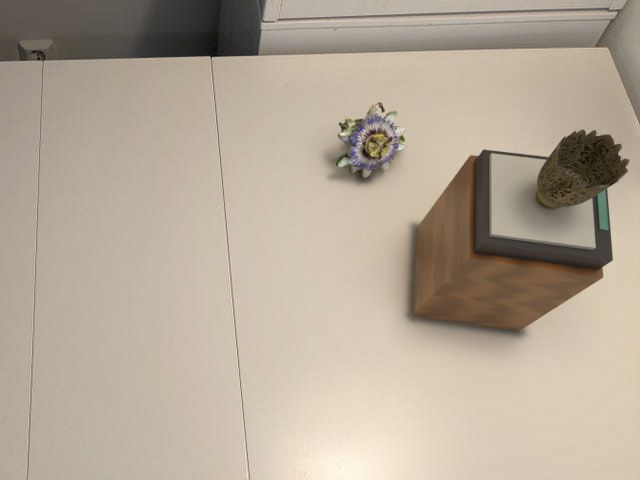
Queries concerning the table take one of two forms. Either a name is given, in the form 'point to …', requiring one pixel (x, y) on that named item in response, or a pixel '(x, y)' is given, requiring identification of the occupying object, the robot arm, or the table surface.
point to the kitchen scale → (534, 216)
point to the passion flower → (371, 141)
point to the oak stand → (482, 270)
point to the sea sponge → (579, 170)
